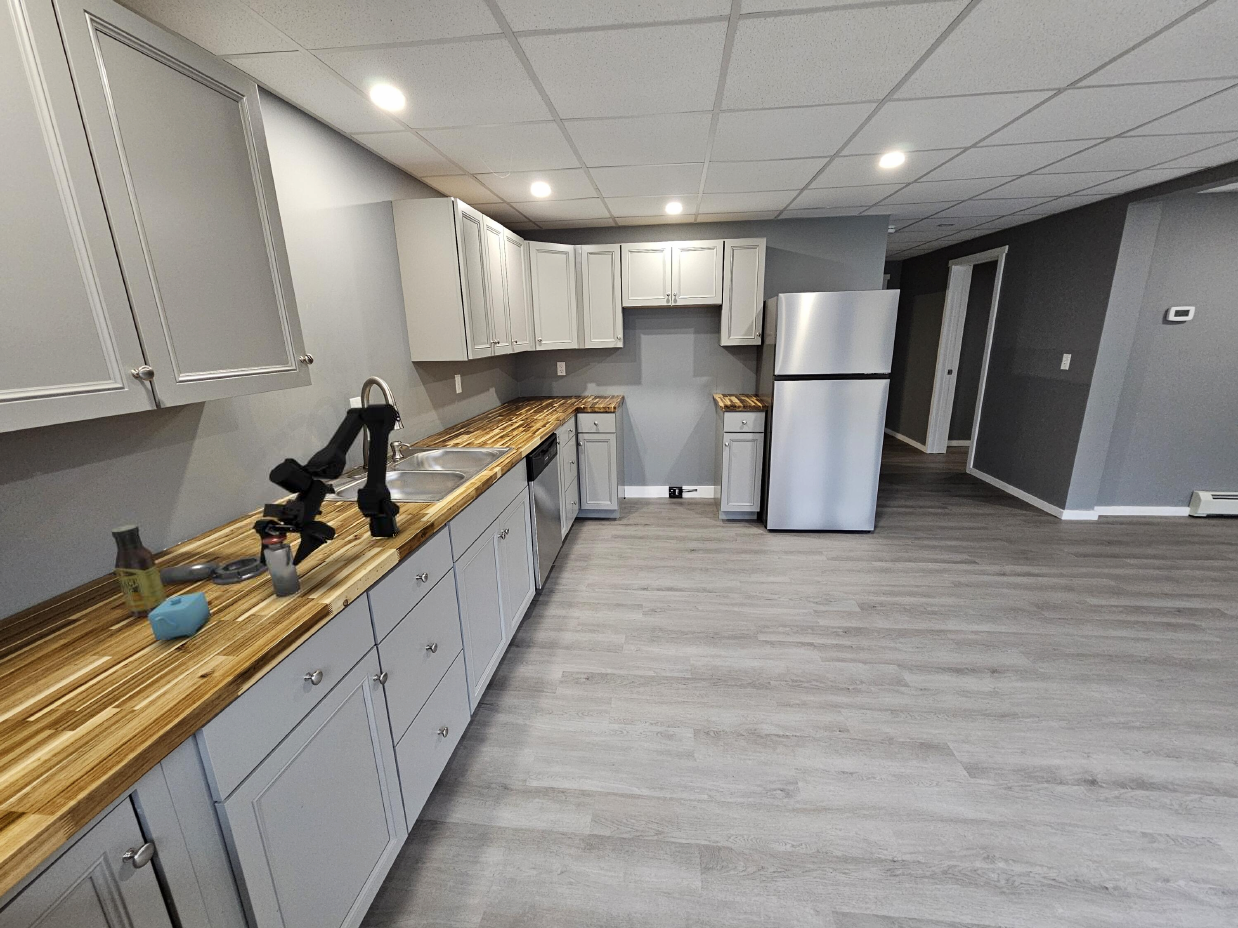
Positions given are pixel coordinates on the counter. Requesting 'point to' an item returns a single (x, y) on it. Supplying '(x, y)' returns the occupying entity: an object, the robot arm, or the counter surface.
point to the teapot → (179, 616)
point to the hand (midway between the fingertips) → (277, 564)
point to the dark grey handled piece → (216, 571)
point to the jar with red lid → (281, 566)
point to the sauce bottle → (137, 572)
